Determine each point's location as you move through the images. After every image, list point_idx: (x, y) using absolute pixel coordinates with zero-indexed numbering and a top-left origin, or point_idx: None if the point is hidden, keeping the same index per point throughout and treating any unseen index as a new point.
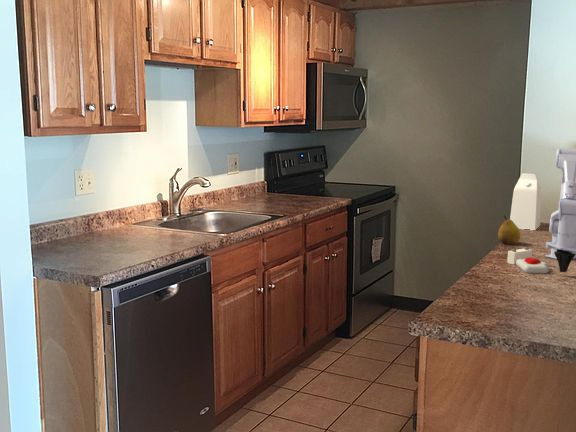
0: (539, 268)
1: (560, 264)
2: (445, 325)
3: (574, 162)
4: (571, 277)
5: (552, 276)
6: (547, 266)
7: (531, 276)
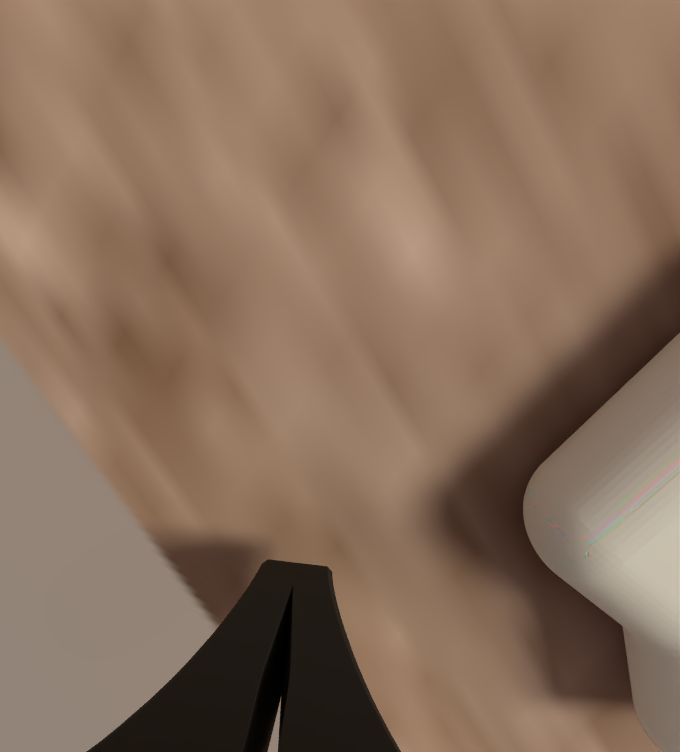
0: (665, 415)
1: (298, 647)
2: None
3: None
4: (171, 567)
5: (372, 395)
6: (643, 702)
7: (632, 60)
